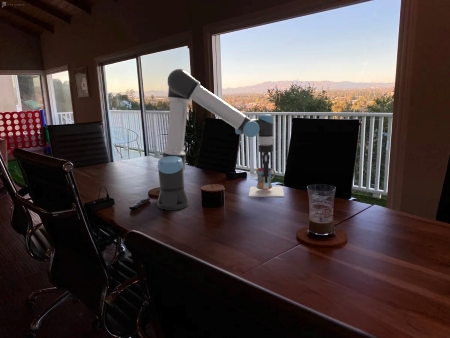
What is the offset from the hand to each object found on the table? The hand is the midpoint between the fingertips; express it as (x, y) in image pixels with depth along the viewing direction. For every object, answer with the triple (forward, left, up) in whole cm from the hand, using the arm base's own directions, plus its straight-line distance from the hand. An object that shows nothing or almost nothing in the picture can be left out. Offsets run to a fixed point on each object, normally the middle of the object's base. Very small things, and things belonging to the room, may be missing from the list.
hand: (266, 186), depth 172 cm
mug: (+1, 0, -1) cm, 2 cm away
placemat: (0, 0, -3) cm, 3 cm away
